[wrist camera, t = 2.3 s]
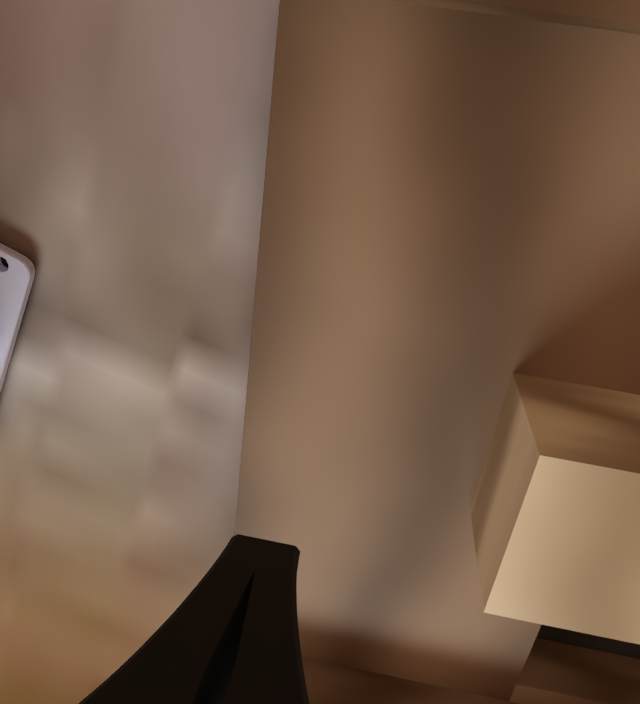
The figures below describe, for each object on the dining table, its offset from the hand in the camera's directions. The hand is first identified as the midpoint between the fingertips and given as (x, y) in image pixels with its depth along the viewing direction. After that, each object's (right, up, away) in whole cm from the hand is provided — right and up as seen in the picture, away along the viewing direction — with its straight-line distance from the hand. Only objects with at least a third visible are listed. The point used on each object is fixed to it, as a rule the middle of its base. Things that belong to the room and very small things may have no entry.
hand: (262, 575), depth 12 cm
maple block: (+9, +1, +5) cm, 10 cm away
